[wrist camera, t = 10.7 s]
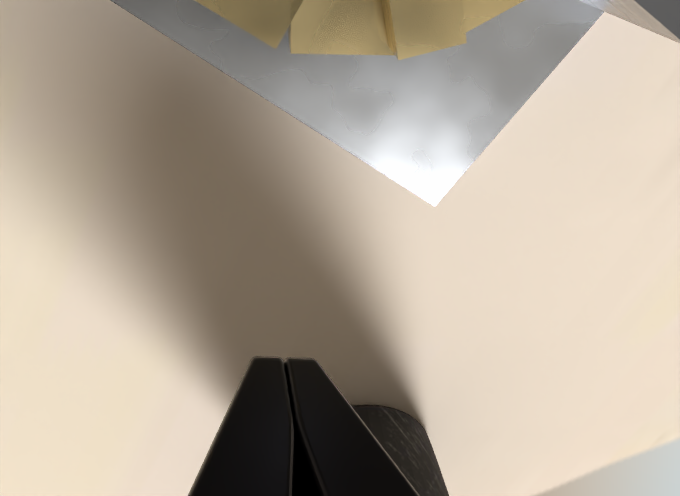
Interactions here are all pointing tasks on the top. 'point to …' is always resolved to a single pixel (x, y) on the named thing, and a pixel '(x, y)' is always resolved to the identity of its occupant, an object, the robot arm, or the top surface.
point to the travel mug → (405, 447)
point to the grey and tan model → (402, 22)
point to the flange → (393, 84)
